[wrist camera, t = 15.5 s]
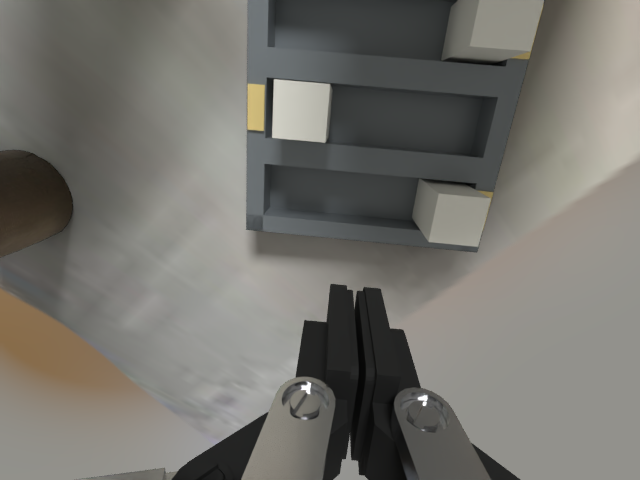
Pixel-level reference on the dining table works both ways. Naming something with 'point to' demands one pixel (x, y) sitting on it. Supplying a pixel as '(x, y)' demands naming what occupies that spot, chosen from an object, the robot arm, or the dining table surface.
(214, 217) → the dining table surface
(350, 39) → the switch bank
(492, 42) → the tab
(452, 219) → the tab
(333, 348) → the robot arm
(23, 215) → the pillar candle
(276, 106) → the tab middle
